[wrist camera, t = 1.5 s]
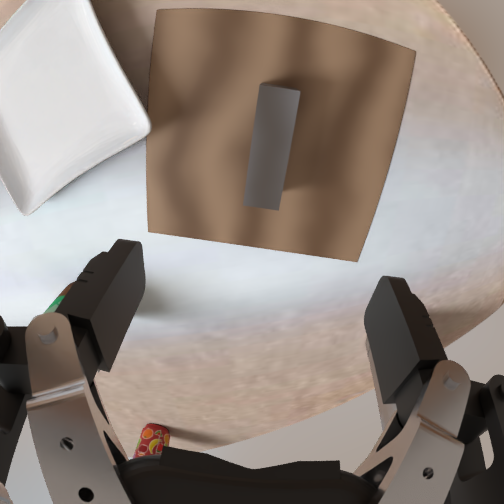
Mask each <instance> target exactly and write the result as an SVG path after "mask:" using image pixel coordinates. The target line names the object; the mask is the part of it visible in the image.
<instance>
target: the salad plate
mask: <svg viewBox="0 0 504 504" xmlns="http://www.w3.org/2000/svg"><path fill="white" fill-rule="evenodd" d="M151 129H152V123H151V120H150V118H149V116H148V114H147V112H146V110H145V108H144V106H143V104H142V102H141V100H140V99H139V97H138V95H137V93H136V91H135V90H134V88H133V86H132V85H131V83H130V81H129V79H128V77H127V76H126V74H125V72H124V70H123V69H122V67H121V65H120V63H119V61H118V59H117V57H116V55H115V54H114V52H113V50H112V48H111V46H110V44H109V41H108V39H107V37H106V35H105V33H104V31H103V29H102V27H101V25H100V22H99V20H98V18H97V16H96V13H95V11H94V8H93V6H92V3H91V0H26V1H25V2H24V3H23V4H22V5H21V7H20V8H19V9H18V10H17V11H16V12H15V13H14V14H13V15H12V17H11V18H10V19H9V20H8V21H7V22H6V24H5V25H4V26H3V27H2V28H1V30H0V178H1V180H2V182H3V184H4V186H5V188H6V190H7V192H8V193H9V195H10V197H11V199H12V200H13V202H14V204H15V205H16V207H17V208H18V210H19V211H20V212H21V213H22V214H23V215H24V216H28V215H30V214H32V213H33V212H34V211H36V210H37V209H38V208H39V207H40V206H41V205H42V204H44V203H45V202H46V201H47V200H48V199H49V198H51V197H52V196H53V195H54V194H55V193H57V192H58V191H59V190H60V189H62V188H63V187H64V186H66V185H67V184H68V183H70V182H71V181H73V180H74V179H75V178H77V177H78V176H80V175H81V174H83V173H84V172H86V171H88V170H89V169H91V168H92V167H94V166H96V165H97V164H99V163H101V162H102V161H104V160H106V159H108V158H109V157H111V156H113V155H115V154H117V153H118V152H120V151H122V150H124V149H125V148H127V147H129V146H131V145H133V144H134V143H136V142H138V141H140V140H141V139H143V138H144V137H146V136H147V135H148V134H149V133H150V132H151Z"/></svg>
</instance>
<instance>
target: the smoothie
mask: <svg viewBox="0 0 504 504" xmlns="http://www.w3.org/2000/svg"><path fill="white" fill-rule="evenodd" d="M169 440H170V435H169V431H168V430H167V429H166V428H164V427H162V426H160V425H156V424H147V425H146V427H145V428H143V430H142V433H141V436H140V439H139V442H138V444H137V447H136V450H135V453H134V456H133V458H137V457H141V456H146V455H154V454H161V453H162V448H163V446H168V447H169Z"/></svg>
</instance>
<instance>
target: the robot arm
mask: <svg viewBox="0 0 504 504" xmlns="http://www.w3.org/2000/svg"><path fill="white" fill-rule="evenodd" d="M144 290H145V270H144V261H143V250H142V244H141V242H138V241H131V240H124V239H118V240H117V241H116V242H115V243H114V245H113V246H112V247H111V249H110V250H109V252H101V253H100V254H98V255H97V256H95V257H94V258H93V259H91V260H90V261H89V263H88V264H87V265H86V267H85V268H84V270H83V272H81V274H80V275H79V276H78V278H77V281H75V282H74V283H73V285H72V286H71V288H70V289H69V291H68V292H67V294H66V295H65V297H64V298H63V299H62V301H61V302H60V304H59V305H58V307H57V308H56V310H55V311H54V312H49V313H44V314H41V315H39V316H37V317H36V318H35V319H33V320H32V321H31V322H30V324H29V325H28V326H27V327H7V326H6V324H5V322H4V320H3V318H2V317H1V316H0V504H13V502H12V500H11V499H10V498H9V494H8V492H7V490H6V488H5V483H6V480H7V476H8V472H9V469H10V465H11V462H12V458H13V455H14V452H15V449H16V446H17V442H18V439H19V436H20V433H21V431H22V428H23V425H24V422H25V419H26V417H27V414H28V419H29V424H30V428H31V433H32V437H33V441H34V445H35V449H36V452H37V456H38V459H39V463H40V466H41V469H42V473H43V476H44V479H45V482H46V485H47V487H48V490H49V493H50V496H51V498H52V501H53V504H504V376H503V375H495V376H493V377H492V378H491V379H490V380H489V381H488V382H487V383H486V384H483V383H479V382H475V381H471V380H470V378H469V376H468V374H467V372H466V370H465V369H464V368H463V367H462V366H461V365H459V364H458V363H456V362H454V361H451V360H448V359H447V356H446V354H445V351H444V349H443V346H442V344H441V342H440V339H439V337H438V335H437V332H436V330H435V328H434V327H433V323H432V321H431V319H430V318H429V314H428V312H427V310H426V308H425V306H424V304H423V303H422V302H421V301H420V300H419V299H418V297H417V296H416V295H415V294H412V293H411V291H410V288H409V286H408V284H407V282H406V280H405V279H404V278H399V277H391V276H382V277H381V279H380V280H379V282H378V285H377V287H376V289H375V291H374V293H373V295H372V298H371V300H370V302H369V304H368V306H367V308H366V311H365V316H364V325H365V329H366V333H367V340H366V348H367V354H368V357H369V362H370V367H371V372H372V376H373V381H374V386H375V391H376V396H377V401H378V407H379V412H380V418H381V423H382V430H383V432H382V434H381V436H380V437H379V439H378V441H377V443H376V444H375V446H374V448H373V449H372V451H371V453H370V454H369V455H368V457H367V458H366V459H365V461H364V462H363V463H362V464H361V465H360V466H359V467H358V468H357V469H356V470H355V472H354V473H353V474H352V473H349V472H346V471H343V470H340V461H339V460H338V461H297V462H292V463H288V464H283V465H278V466H272V467H266V468H261V469H249V468H245V467H243V466H240V465H237V464H234V463H230V462H228V461H225V460H222V459H220V458H217V457H214V456H211V455H209V454H205V453H200V452H194V451H188V450H182V449H177V448H172V447H168V446H163V448H162V453H161V454H154V455H146V456H141V457H137V458H133V459H130V460H129V459H128V457H127V455H126V453H125V451H124V449H123V447H122V445H121V443H120V441H119V439H118V438H117V436H116V434H115V432H114V430H113V427H112V425H111V422H110V420H109V417H108V415H107V412H106V410H105V407H104V404H103V402H102V399H101V396H100V393H99V391H98V388H97V385H96V382H95V379H94V377H95V375H96V372H97V370H98V369H99V370H103V371H107V372H110V370H111V368H112V365H113V363H114V360H115V358H116V355H117V353H118V351H119V348H120V346H121V344H122V341H123V339H124V337H125V334H126V332H127V330H128V328H129V325H130V323H131V321H132V319H133V316H134V314H135V312H136V310H137V308H138V305H139V303H140V301H141V299H142V297H143V294H144ZM487 430H488V431H489V435H490V439H491V444H492V447H493V452H494V460H493V463H492V465H491V466H490V467H489V468H488V469H487V470H486V467H485V461H484V456H483V451H482V447H481V443H480V438H479V436H480V435H482V434H483V433H484V432H485V431H487Z"/></svg>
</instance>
